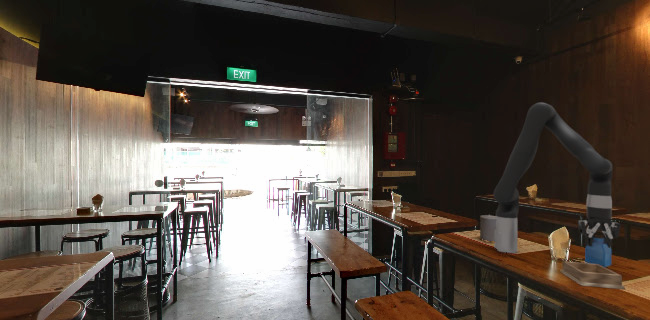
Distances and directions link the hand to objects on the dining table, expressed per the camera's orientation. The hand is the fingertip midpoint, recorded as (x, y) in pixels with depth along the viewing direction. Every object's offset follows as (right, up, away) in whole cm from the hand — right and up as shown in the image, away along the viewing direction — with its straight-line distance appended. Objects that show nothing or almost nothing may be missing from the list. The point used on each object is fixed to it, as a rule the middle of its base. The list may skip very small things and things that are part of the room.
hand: (598, 246), depth 117 cm
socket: (-12, -10, -10) cm, 19 cm away
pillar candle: (-19, -11, +45) cm, 50 cm away
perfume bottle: (0, -7, 0) cm, 7 cm away
